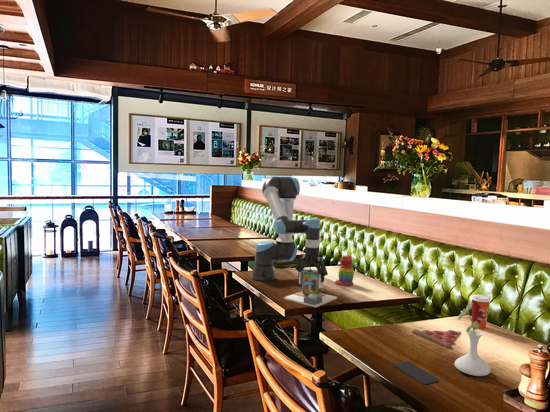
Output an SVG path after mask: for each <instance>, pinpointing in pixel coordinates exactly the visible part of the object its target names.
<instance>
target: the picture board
mask: <svg viewBox="0 0 550 412" xmlns="http://www.w3.org/2000/svg"><path fill="white" fill-rule="evenodd" d="M316 295H317V299H315V300H314V299H310V298H309V294H303V292H302V290H301V291H299V292H296V293H293V294H289V295H286V296H284V297H283V299H284V300H286V301H289V302H294V303H298V304H301V305H305V306H307V307H308V306H309V307H311V308H312V307H313V308H318V307H320V306H322V305H323V306H324V305H325V304H328V303H330V302H333V301H335V300H337V299H338V296H335V295H331V294H326V293H322V292H319V294H316ZM332 300H333V301H332Z"/></svg>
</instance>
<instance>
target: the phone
mask: <svg viewBox="0 0 550 412" xmlns="http://www.w3.org/2000/svg"><path fill="white" fill-rule="evenodd" d="M393 368H395V369H397V370H398V371H400V372H402V373H403V374H404V375H406V376H408V377H410V378H412V379H413V380H415V381H416V382H417V383H420V384H422V385H424V386H427V385H432V384H435V383H439V382H440V379H439V378H438V377H436V376H434V375H432V374H431V373H429V372H428V371H426V370H425V369H423V368H421V367H420V366H418V365H416V364H414V363H412V362H411V361H406V360H405V361H401V362H397V363H393Z"/></svg>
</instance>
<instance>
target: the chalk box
mask: <svg viewBox="0 0 550 412" xmlns="http://www.w3.org/2000/svg"><path fill="white" fill-rule="evenodd" d="M308 266H309V269H303V277H302V283H301V291H302V292H303V294H319V293H320V289H321V288H319V276H321V275H320V274H319V272H318V270H317V269H311V265H310V264H309V265H308Z"/></svg>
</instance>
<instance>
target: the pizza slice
mask: <svg viewBox="0 0 550 412" xmlns="http://www.w3.org/2000/svg"><path fill="white" fill-rule="evenodd" d="M411 333H412V334H414V335H416V336H418V337H421V338H423V339H425V340H428V341H429V342H431V343H434V344H436V345H438V346H441V347H442V348H443V347H444V348H446V349H450V348H451V347H452V345H453V344H454V342H455V341H456V340H457V339H458V338H459V336H460V335H461V333H462V332H461V331H460V330H459V331H458V330H457V331H456V330H452V329H449V330H447V331H446V330H445V331H443V330H441V331H440V330H432V331H431V330H427V329H423V330H419V329H416V328H414V329H412V332H411Z"/></svg>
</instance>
